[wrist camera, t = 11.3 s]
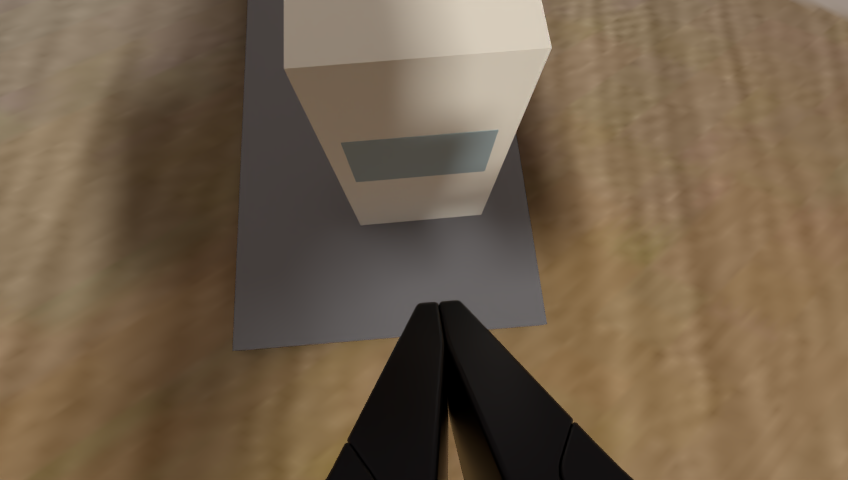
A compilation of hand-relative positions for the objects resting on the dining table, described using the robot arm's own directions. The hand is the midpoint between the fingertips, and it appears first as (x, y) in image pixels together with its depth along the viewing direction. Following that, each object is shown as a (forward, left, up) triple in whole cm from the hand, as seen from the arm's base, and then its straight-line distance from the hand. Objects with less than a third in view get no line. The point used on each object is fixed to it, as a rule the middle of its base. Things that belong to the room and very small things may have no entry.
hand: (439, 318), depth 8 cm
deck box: (+5, -4, -8) cm, 10 cm away
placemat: (+9, -5, -8) cm, 13 cm away
